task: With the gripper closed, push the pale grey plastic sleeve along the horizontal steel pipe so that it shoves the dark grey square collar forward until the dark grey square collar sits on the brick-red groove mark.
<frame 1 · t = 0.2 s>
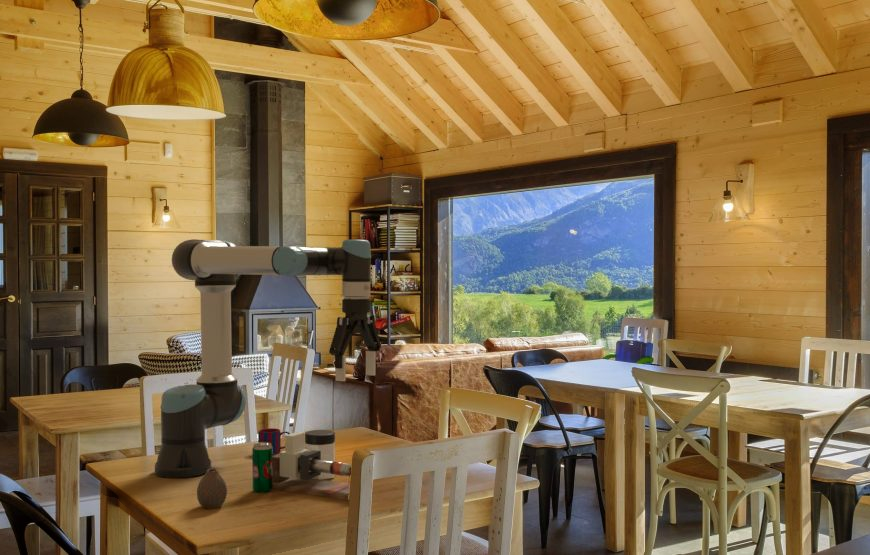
hand: (355, 378, 225), 28 cm above the table, fingers open, 13 cm apart
cup: (274, 453, 261), on the table
pipe: (318, 465, 218), point 6 cm above the table
jar: (319, 477, 231), on the table
soda can: (262, 491, 216), on the table
dark grey square collar: (310, 464, 219), point 6 cm above the table, slide at -2.5 cm
sleeve: (294, 454, 221), point 8 cm above the table, slide at -7.5 cm
stand: (318, 489, 218), on the table
vase: (211, 507, 202), on the table
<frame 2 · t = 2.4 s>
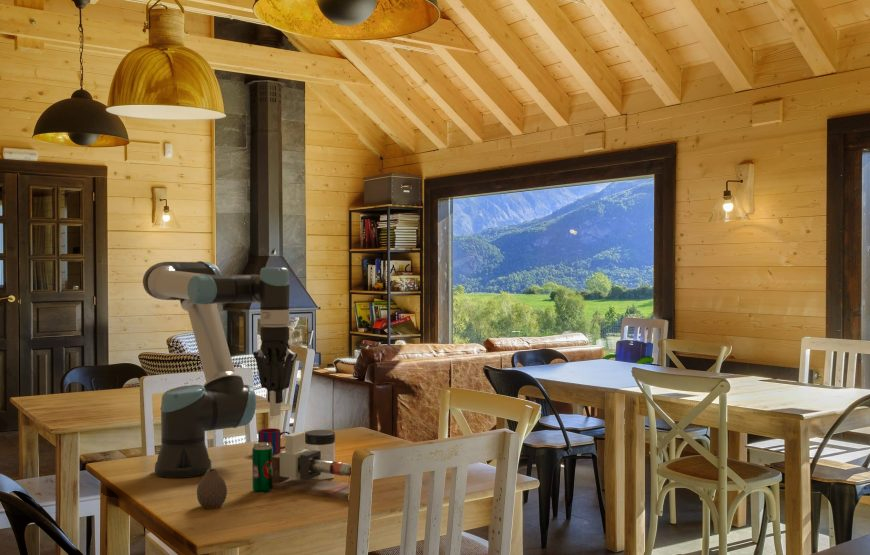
hand: (275, 415, 224), 18 cm above the table, fingers closed
nothing on the table moved.
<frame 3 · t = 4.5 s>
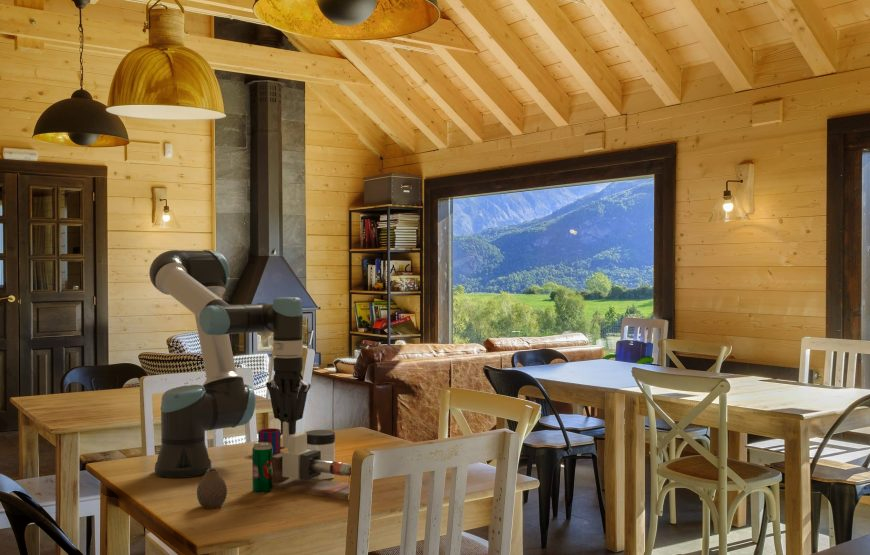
hand: (288, 446, 222), 10 cm above the table, fingers closed
sleeve: (297, 454, 221), point 8 cm above the table, slide at -6.6 cm, touching gripper
everything else where it was.
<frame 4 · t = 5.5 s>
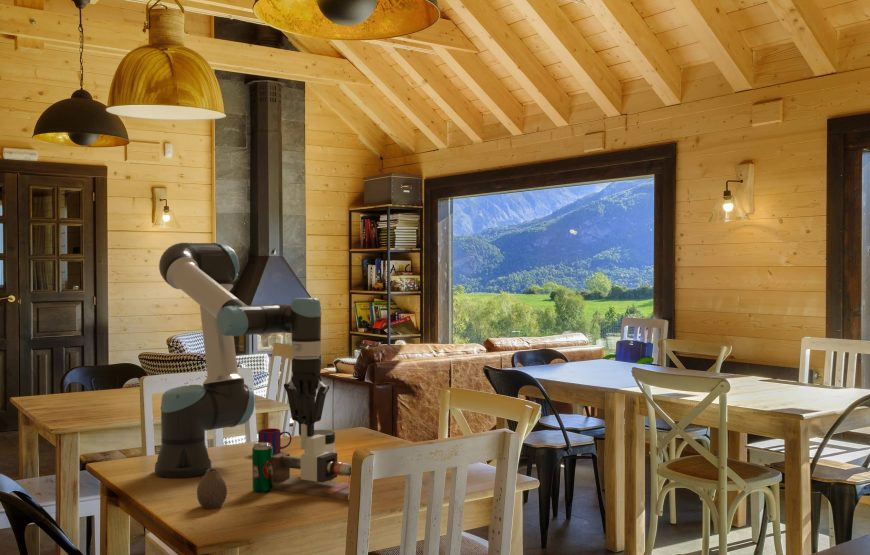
hand: (306, 448, 219), 10 cm above the table, fingers closed
dark grey square collar: (327, 467, 217), point 6 cm above the table, slide at 2.6 cm, touching sleeve
sleeve: (315, 457, 218), point 8 cm above the table, slide at -0.9 cm, touching gripper, dark grey square collar
everything else where it was.
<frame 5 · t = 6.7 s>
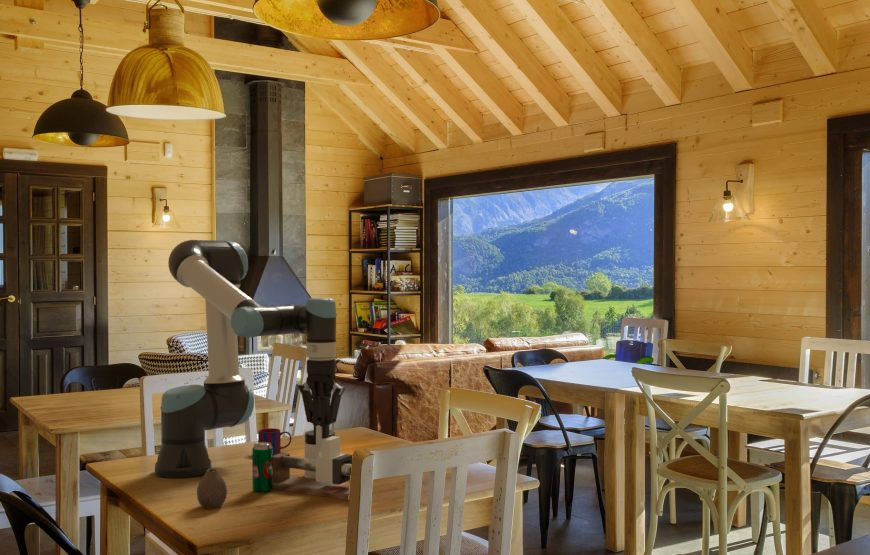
hand: (321, 450, 217), 10 cm above the table, fingers closed
dark grey square collar: (342, 469, 215), point 6 cm above the table, slide at 7.3 cm, touching sleeve
sleeve: (331, 458, 216), point 8 cm above the table, slide at 3.8 cm, touching gripper, dark grey square collar
everything else where it was.
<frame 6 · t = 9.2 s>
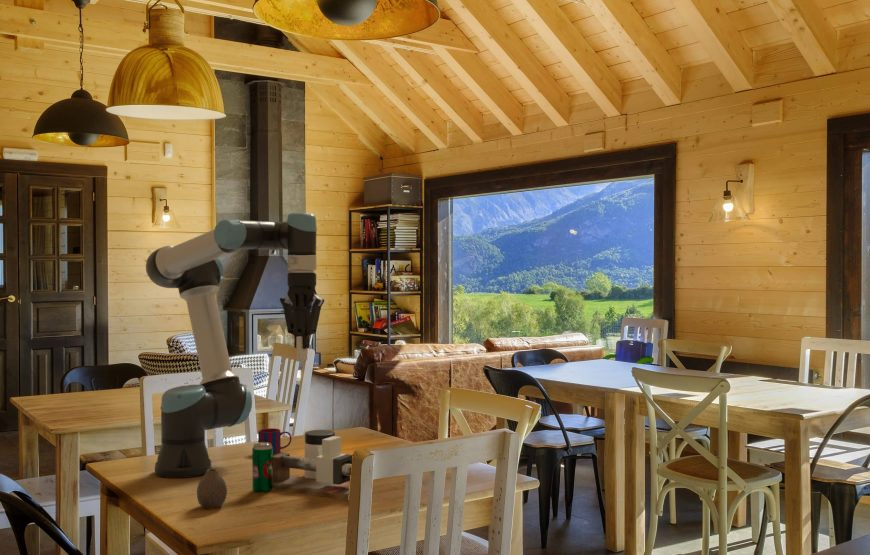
hand: (301, 360, 225), 32 cm above the table, fingers closed
sleeve: (331, 459, 216), point 8 cm above the table, slide at 4.0 cm, touching dark grey square collar
everything else where it was.
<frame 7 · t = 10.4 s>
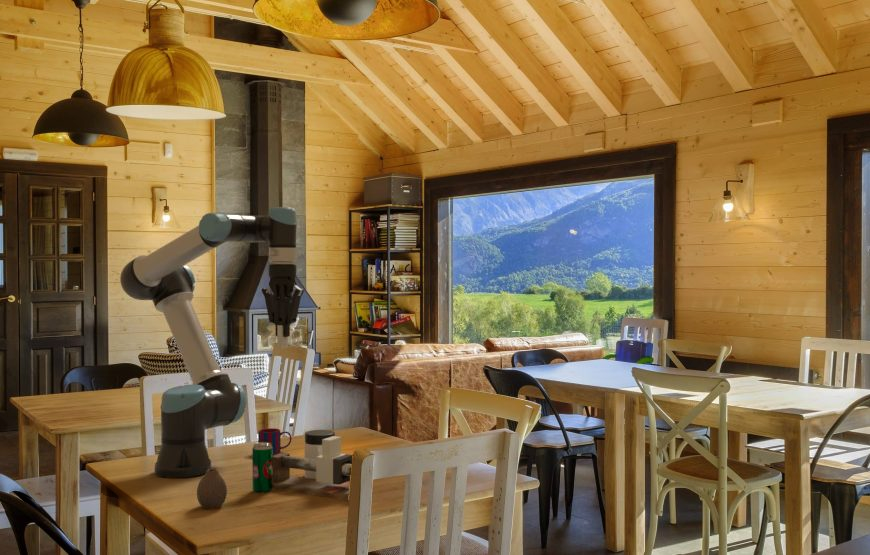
hand: (282, 348, 235), 34 cm above the table, fingers closed
nothing on the table moved.
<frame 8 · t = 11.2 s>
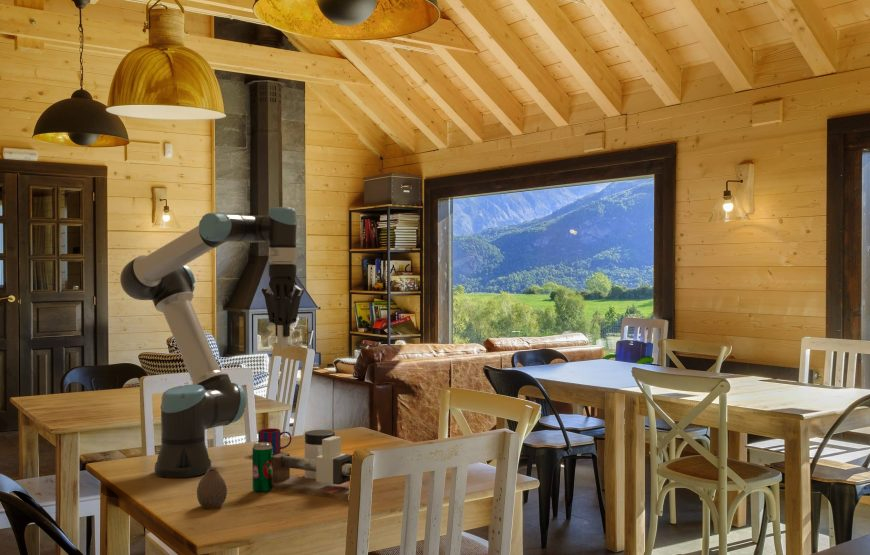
hand: (282, 348, 235), 34 cm above the table, fingers closed
nothing on the table moved.
at the end: dark grey square collar slide at 7.5 cm; sleeve slide at 4.0 cm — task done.
